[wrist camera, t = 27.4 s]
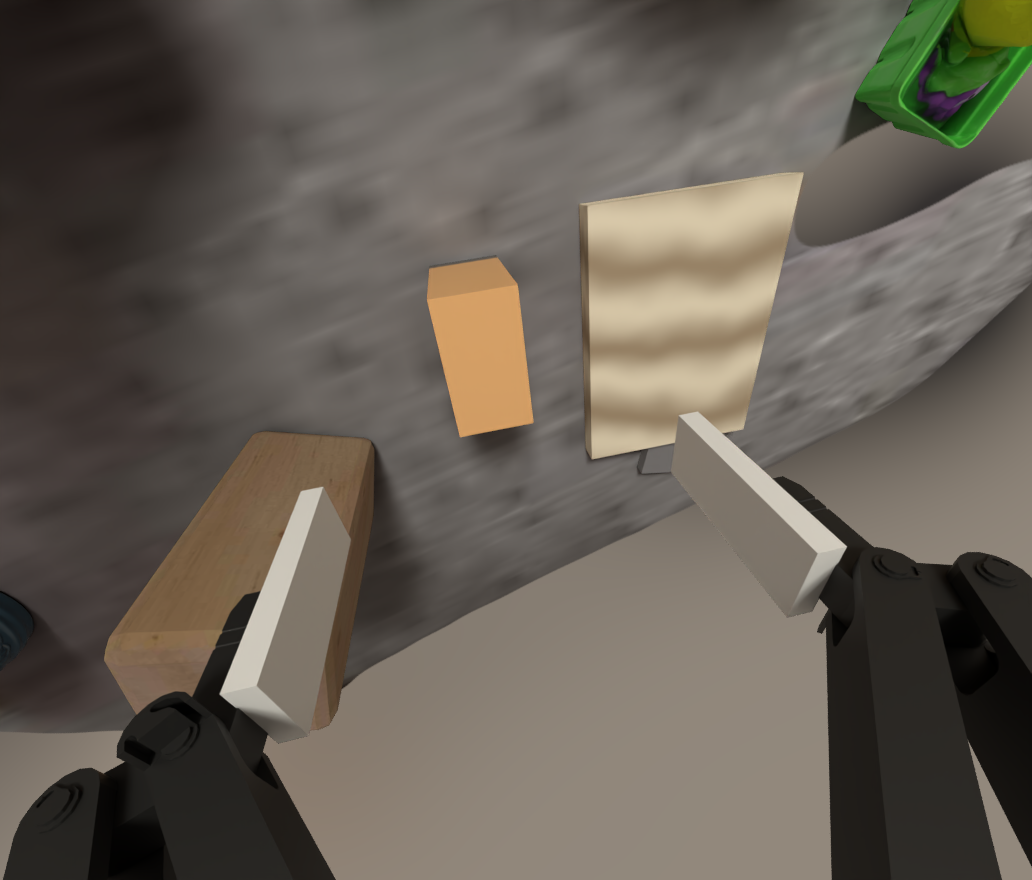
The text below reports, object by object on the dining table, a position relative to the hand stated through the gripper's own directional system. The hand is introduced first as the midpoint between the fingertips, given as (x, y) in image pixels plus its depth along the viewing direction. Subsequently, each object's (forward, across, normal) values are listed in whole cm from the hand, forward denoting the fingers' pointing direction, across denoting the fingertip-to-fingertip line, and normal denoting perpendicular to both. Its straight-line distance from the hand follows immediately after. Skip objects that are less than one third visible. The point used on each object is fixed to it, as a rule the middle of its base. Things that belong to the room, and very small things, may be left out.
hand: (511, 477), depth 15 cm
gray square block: (+21, +18, -18) cm, 33 cm away
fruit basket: (+21, +33, +13) cm, 42 cm away
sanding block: (+21, 0, -1) cm, 21 cm away
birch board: (+21, +17, -5) cm, 28 cm away
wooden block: (+21, -17, -13) cm, 30 cm away
